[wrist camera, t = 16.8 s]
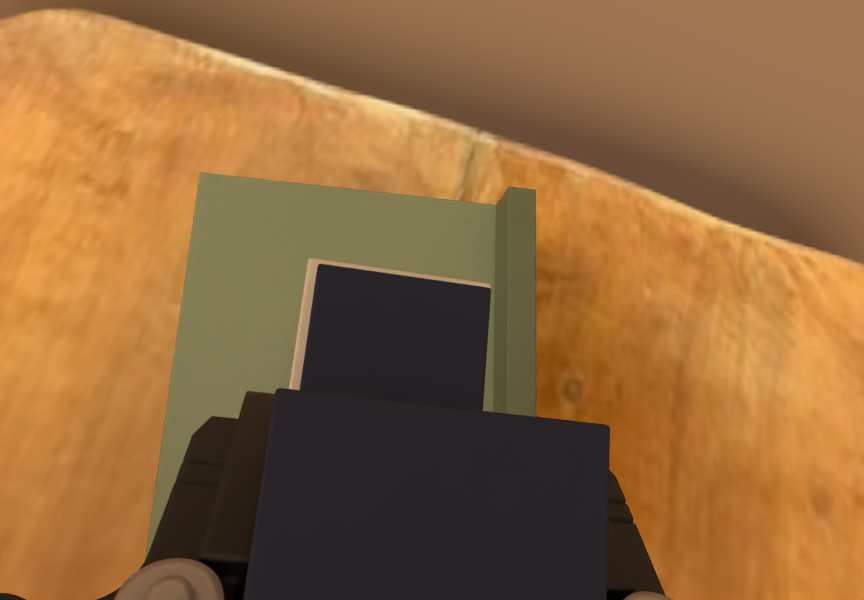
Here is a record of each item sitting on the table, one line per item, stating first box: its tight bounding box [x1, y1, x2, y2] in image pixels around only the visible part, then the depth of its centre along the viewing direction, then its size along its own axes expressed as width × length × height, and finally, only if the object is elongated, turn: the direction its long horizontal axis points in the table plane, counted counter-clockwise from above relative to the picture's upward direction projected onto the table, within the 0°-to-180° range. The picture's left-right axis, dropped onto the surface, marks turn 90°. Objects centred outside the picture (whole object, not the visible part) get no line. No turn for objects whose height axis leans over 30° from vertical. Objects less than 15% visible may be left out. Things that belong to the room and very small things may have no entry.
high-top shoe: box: [243, 258, 610, 600], centre depth 13 cm, size 9×5×10 cm, turn 175°
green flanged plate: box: [145, 173, 536, 560], centre depth 27 cm, size 14×16×6 cm
